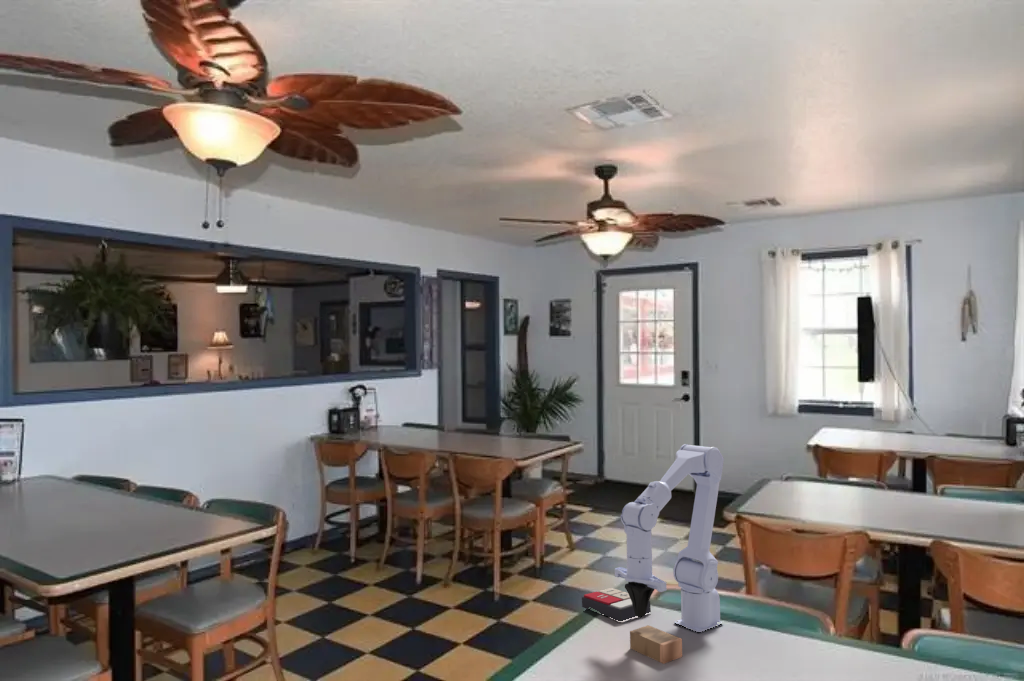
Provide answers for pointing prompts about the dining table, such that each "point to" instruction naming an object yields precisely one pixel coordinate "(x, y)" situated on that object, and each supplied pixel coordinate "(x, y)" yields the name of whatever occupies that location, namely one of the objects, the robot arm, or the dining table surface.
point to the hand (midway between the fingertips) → (640, 615)
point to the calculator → (611, 603)
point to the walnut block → (656, 644)
